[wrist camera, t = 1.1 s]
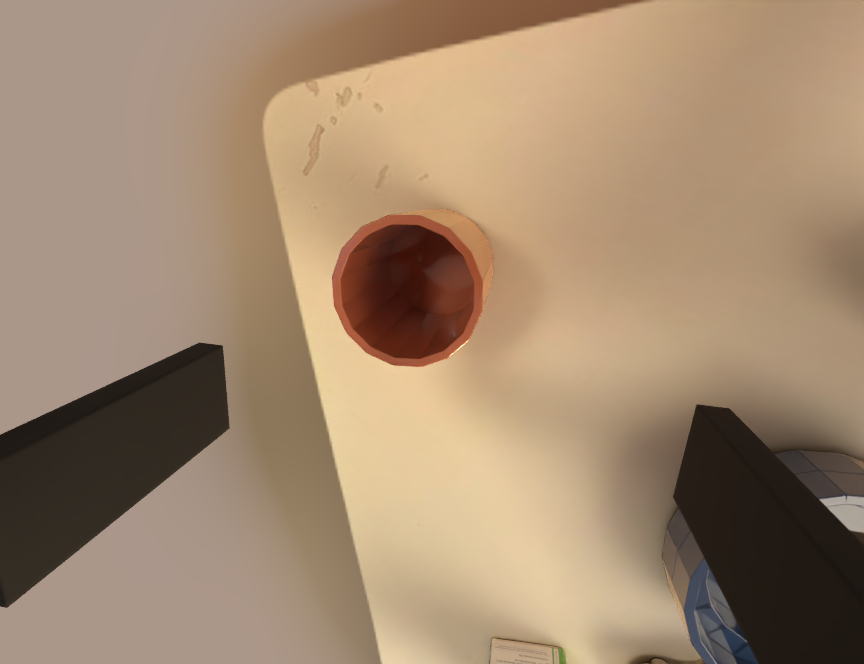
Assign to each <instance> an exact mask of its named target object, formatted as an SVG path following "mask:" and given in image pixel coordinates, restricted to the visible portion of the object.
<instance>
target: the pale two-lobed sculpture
mask: <svg viewBox="0 0 864 664" xmlns="http://www.w3.org/2000/svg"><path fill="white" fill-rule="evenodd" d="M642 664H648V663H642ZM651 664H668V663H667V662H665V661H663V660H661V659H653V660H652V661H651Z"/></svg>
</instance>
